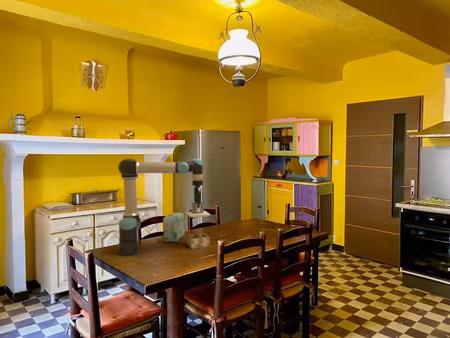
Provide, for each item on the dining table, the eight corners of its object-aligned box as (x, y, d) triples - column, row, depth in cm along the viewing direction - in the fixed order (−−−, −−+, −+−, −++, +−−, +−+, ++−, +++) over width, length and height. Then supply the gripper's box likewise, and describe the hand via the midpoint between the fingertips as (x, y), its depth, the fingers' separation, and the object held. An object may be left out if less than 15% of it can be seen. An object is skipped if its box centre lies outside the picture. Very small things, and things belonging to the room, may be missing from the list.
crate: (191, 248, 251) (191, 239, 251) (186, 243, 264) (186, 234, 264) (209, 247, 256) (209, 237, 255) (204, 242, 269) (204, 233, 269)
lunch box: (175, 244, 263) (174, 216, 262) (162, 243, 265) (161, 215, 264) (186, 235, 289) (185, 210, 288) (174, 235, 292) (173, 209, 290)
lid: (190, 218, 249) (190, 204, 249) (185, 214, 263) (185, 201, 263) (210, 216, 254) (210, 203, 254) (204, 213, 268) (204, 200, 268)
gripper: (205, 180, 251) (205, 213, 252) (199, 179, 266) (199, 209, 267) (195, 181, 249) (195, 213, 250) (189, 179, 264) (190, 210, 265)
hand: (197, 211), depth 259 cm, fingers closed on lid, 3 cm apart
